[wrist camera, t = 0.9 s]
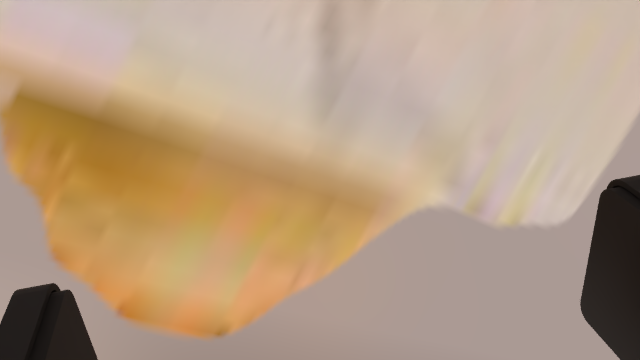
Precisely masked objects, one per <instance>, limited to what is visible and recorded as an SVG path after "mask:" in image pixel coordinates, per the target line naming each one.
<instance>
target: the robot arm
mask: <svg viewBox="0 0 640 360" xmlns="http://www.w3.org/2000/svg"><path fill="white" fill-rule="evenodd" d="M580 305H581V311H582V314H583V316H584V318H585V320H586V321H587V322H588V324H589V325H590V326H591V327H592V328H593V329H594V330H595V331H596V332H597V334H598V335H599V336H600V337H601V338H602V339H603V340H604V342H606V344H607V345H608V346H609V347H610V348H611V349H612V350H613V351H614V353H615V354H616V355H617V356H618V357H619V358H620V360H640V175H637V176H632V177H627V178H621V179H616V180H613V181H611V182H610V183H609V185H608V186H607V189H606V190H604V191H603V192H602V193H601V195H600V199H599V204H598V210H597V215H596V221H595V226H594V231H593V237H592V242H591V247H590V253H589V258H588V265H587V269H586V275H585V280H584V286H583V291H582V296H581V304H580ZM0 360H98V359H97V356H96V354H95V351H94V348H93V346H92V343H91V340H90V338H89V335H88V333H87V330H86V327H85V325H84V322H83V319H82V316H81V314H80V311H79V309H78V306H77V303H76V301H75V298H74V296H73V294H72V292H71V291H70V290H64V291H60V289H59V287H58V286H57V285H56V284H54V283H52V284H46V285H40V286H36V287H30V288H24V289H19V290H16V291H15V292H14V293H13V295H12V297H11V300H10V302H9V304H8V307H7V309H6V312H5V314H4V316H3V319H2V321H1V324H0Z"/></svg>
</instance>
